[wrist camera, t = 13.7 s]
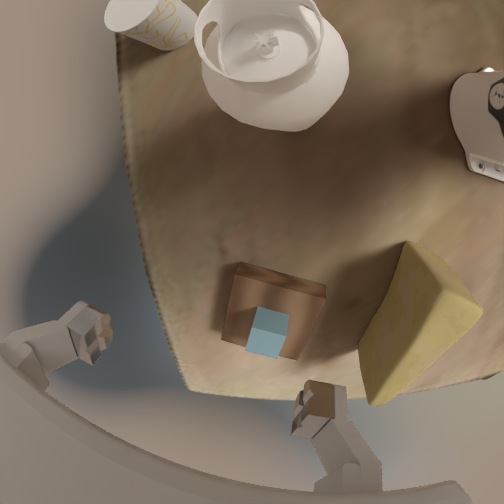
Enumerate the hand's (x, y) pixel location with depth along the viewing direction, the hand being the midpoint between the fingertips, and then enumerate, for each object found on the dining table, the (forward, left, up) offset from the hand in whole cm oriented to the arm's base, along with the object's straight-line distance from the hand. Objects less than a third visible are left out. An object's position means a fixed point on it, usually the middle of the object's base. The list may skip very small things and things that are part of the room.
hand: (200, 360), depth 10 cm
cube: (-4, +20, -27) cm, 34 cm away
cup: (+21, -22, -31) cm, 44 cm away
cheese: (-24, +13, -31) cm, 42 cm away
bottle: (+1, -12, -31) cm, 34 cm away
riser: (-4, +20, -31) cm, 37 cm away
